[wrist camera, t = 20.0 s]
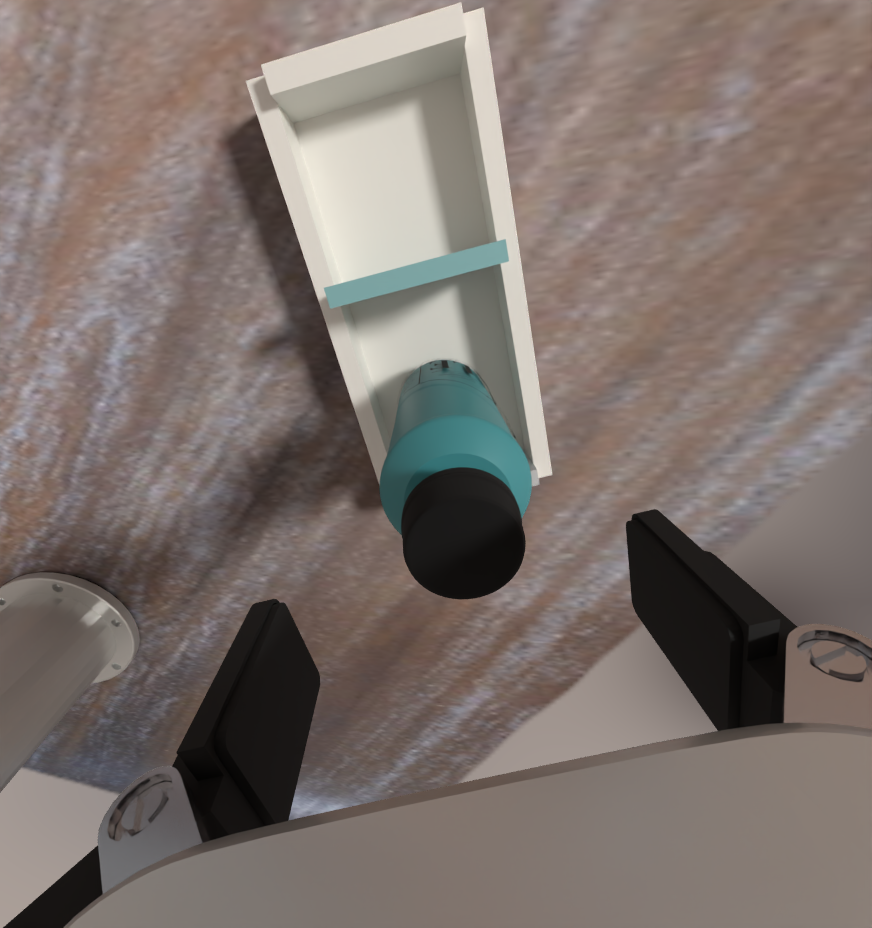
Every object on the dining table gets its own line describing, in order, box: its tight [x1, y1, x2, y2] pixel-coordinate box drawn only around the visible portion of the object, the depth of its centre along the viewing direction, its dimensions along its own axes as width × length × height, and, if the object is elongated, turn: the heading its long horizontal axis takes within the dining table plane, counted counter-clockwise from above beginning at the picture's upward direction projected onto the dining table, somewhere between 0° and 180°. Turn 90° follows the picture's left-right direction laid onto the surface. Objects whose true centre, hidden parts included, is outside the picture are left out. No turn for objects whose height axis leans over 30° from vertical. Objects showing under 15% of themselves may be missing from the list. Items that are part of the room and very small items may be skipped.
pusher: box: [324, 239, 509, 309], centre depth 24 cm, size 9×1×8 cm, turn 104°
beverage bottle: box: [380, 358, 532, 599], centre depth 22 cm, size 6×7×20 cm
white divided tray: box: [246, 3, 552, 486], centre depth 27 cm, size 12×26×4 cm, turn 14°
